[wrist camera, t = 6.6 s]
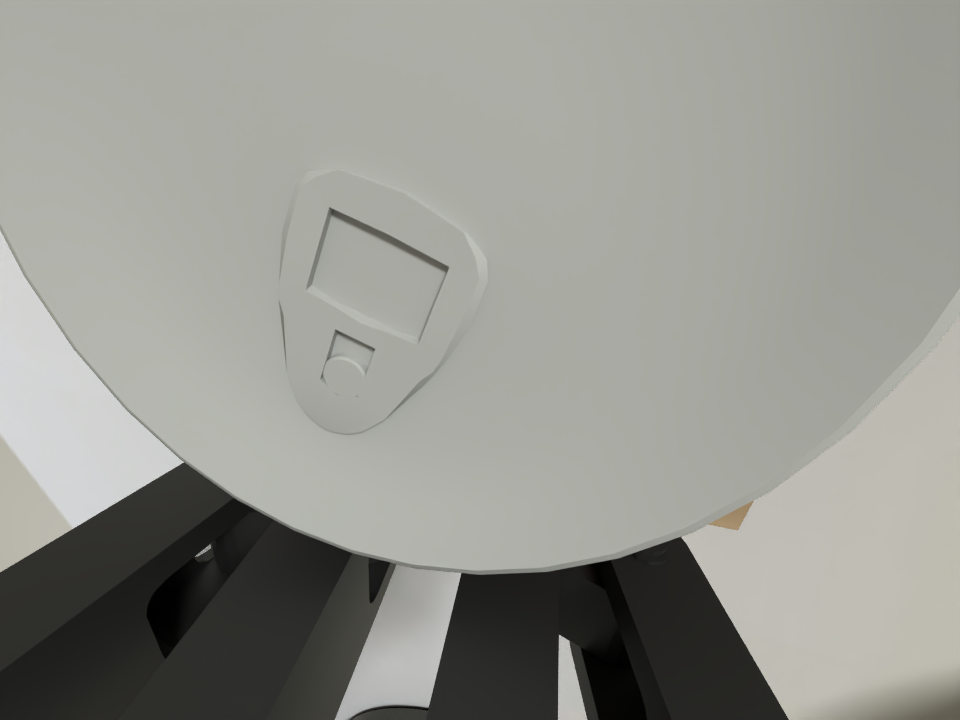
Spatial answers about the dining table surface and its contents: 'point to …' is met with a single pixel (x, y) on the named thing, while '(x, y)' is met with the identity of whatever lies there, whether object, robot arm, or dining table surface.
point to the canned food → (489, 249)
